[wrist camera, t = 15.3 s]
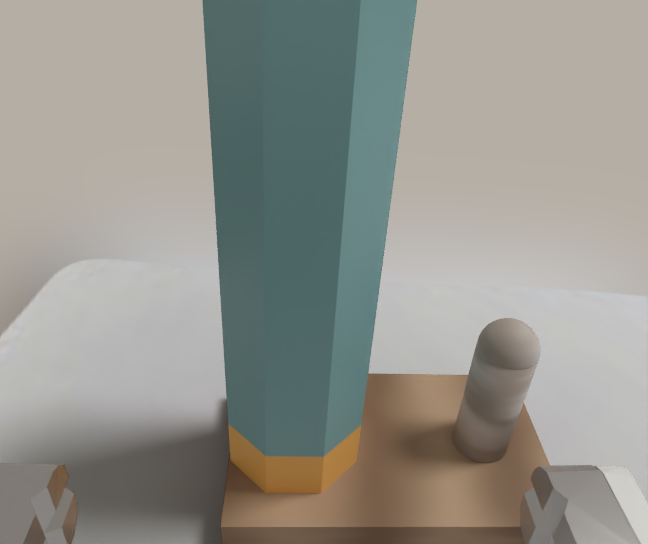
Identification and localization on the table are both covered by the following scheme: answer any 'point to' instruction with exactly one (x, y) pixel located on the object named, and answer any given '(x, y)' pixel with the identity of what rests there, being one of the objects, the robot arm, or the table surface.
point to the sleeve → (302, 219)
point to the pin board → (418, 461)
